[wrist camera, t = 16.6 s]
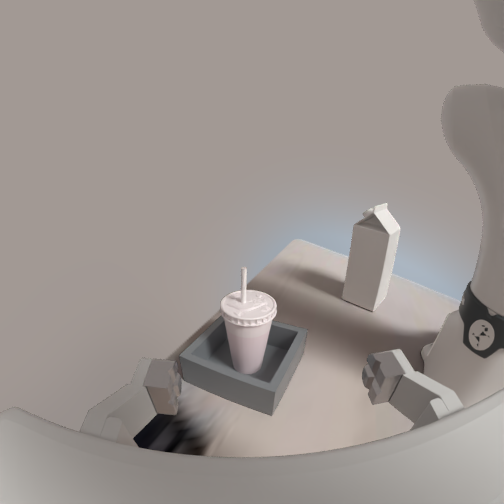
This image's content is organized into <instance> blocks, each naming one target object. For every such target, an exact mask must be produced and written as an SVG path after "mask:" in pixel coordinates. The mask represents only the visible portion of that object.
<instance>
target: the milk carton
mask: <svg viewBox="0 0 504 504" xmlns="http://www.w3.org/2000/svg"><path fill="white" fill-rule="evenodd" d="M387 204H388V203H385V204H381V205H378V206H374V210H373V208H371V209H369V210H367V211H365V212H364V213H363V215H364V217H365V218H364V219H362V220H361V221H359V222H358V223H356V224H355V225H354V227H353V234H352V241H351V248H350V254H349V260H348V267H347V272H346V278H345V284H344V289H343V294H342V299H344V300H346V301H348V302H351V303H353V304H356V305H358V306H360V307H363V308H365V309H368V310H370V311H374V310H375V309H376V308H377V307H378V306H379V305H380V304H381V302H382V301H383V300H384V299H385V298H386V294H387V290H388V286H389V282H390V278H391V274H392V269H393V264H394V260H395V256H396V250H397V246H398V240H399V235H400V229H401V228H400V226H399V225H398V223H397V222H396V221H395V219H394V218H393V216H392V215H391V214H390V212H389V211H388V210H387Z"/></svg>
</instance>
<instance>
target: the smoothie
mask: <svg viewBox="0 0 504 504" xmlns="http://www.w3.org/2000/svg"><path fill="white" fill-rule="evenodd" d="M246 279H247V268H246V267H242V268H241V290H239V291H235V292H232V293H229V294H228V295H226V296H225V297H224V298H223V299H222V300H221V303H220V313H221V315H222V317H223V318H224V321H225V326H226V331H227V337H228V342H229V347H230V352H231V357H232V362H233V366H234V369H235V370H236V371H238V372H239V373H242V374H253V373H256V372H257V371H259V370H260V368H261V365H262V361H263V357H264V353H265V349H266V345H267V340H268V336H269V332H270V328H271V323H272V320H273V318H274V317H275V316H276V313H277V309H276V307H277V304H276V301H275V299H274V298H273V297H271V296H270V295H268V294H266V293H264V292H261V291H256V290H246Z"/></svg>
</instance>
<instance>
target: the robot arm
mask: <svg viewBox="0 0 504 504" xmlns="http://www.w3.org/2000/svg"><path fill="white" fill-rule="evenodd" d="M474 2H475V5H476V8H477V11H478V14H479V18H480V21H481V25H482V28H483V30H484V31H485V33H486V35H487V37H488V38H489V39H490V40H491V42H492V43H493V44H494V45H495V46H496V47H497V48H498V49H500V50H501V51H502V52H504V0H474ZM441 122H442V129H443V133H444V137H445V140H446V142H447V144H448V146H449V148H450V150H451V152H452V153H453V155H454V156H455V157H456V159H457V160H458V161H459V162H460V163H461V164H462V165H463V167H464V168H465V169H466V171H467V172H468V174H469V175H470V177H471V179H472V181H473V183H474V185H475V187H476V190H477V192H478V196H479V199H480V203H481V208H482V216H483V230H482V239H481V245H480V251H479V256H478V260H477V264H476V268H475V272H474V275H473V278H472V281H470V282H469V283H468V285H467V288H466V290H465V291H464V294H463V296H462V301H461V304H460V306H459V310H457V311H454V312H452V313H449V314H448V315H447V317H446V319H445V321H444V323H443V325H442V327H441V329H440V331H439V333H438V335H437V337H436V339H435V341H434V342H433V343H430V344H428V345H425V346H424V347H423V349H422V351H421V355H422V358H423V360H424V364H425V365H424V374H422V373H420V372H418V371H416V372H415V371H414V369H413V368H412V366H411V365H410V363H409V361H408V360H407V358H406V357H405V355H404V354H403V352H402V351H401V350H400V349H395V350H390V351H384V352H378V353H371V354H370V355H369V356H368V358H367V362H368V364H367V365H366V366H365V367H364V369H363V372H362V380H363V384H364V386H365V387H366V388H367V389H369V392H368V396H369V398H370V400H371V403H372V405H374V404H379V403H384V402H389V403H390V404H391V405H392V406H394V407H395V408H396V409H397V410H398V411H400V412H401V413H402V414H403V415H405V416H406V417H407V418H408V419H410V420H411V421H412V422H413V423H415V424H414V425H413V427H412V428H411V429H410V431H407V432H404V433H401V434H398V435H394V436H391V437H387V438H384V439H380V440H376V441H372V442H368V443H364V444H360V445H355V446H350V447H345V448H340V449H334V450H328V451H322V452H315V453H307V454H298V455H287V456H273V457H210V456H196V455H185V454H176V453H169V452H162V451H155V450H149V449H144V448H139V447H138V446H137V444H136V443H135V441H134V440H133V438H134V437H135V436H136V435H137V434H138V433H139V432H140V431H141V430H142V429H143V428H144V427H145V426H146V425H147V424H148V423H149V422H150V421H151V420H152V419H153V418H154V417H155V416H156V415H157V413H160V414H170V415H176V413H177V408H178V404H179V403H178V399H177V397H178V396H180V394H181V384H182V383H181V376H180V374H179V373H178V372H177V371H178V364H177V361H171V360H161V359H151V358H141V359H140V361H139V364H138V366H137V369H136V371H135V374H134V376H133V379H132V381H131V384H127V385H125V386H124V387H122V388H121V389H119V390H118V391H116V392H115V393H114V394H112V395H111V396H110V397H108V398H106V399H105V400H103V401H102V402H100V403H99V404H97V405H96V406H95V407H93V408H91V409H90V410H89V411H88V413H87V415H86V418H85V420H84V422H83V425H82V427H81V430H80V432H77V431H74V430H71V429H68V428H66V427H63V426H60V425H57V424H55V423H52V422H50V421H47V420H45V419H42V418H40V417H38V416H35V415H33V414H31V413H29V412H27V411H25V410H22V409H20V408H18V407H13V408H9V409H7V410H5V411H3V412H1V413H0V504H504V88H502V87H497V86H492V85H487V84H479V85H478V84H476V85H462V86H455V87H454V88H452V89H451V90H450V92H449V93H448V95H447V96H446V98H445V101H444V103H443V107H442V114H441Z"/></svg>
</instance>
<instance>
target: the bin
mask: <svg viewBox="0 0 504 504" xmlns="http://www.w3.org/2000/svg"><path fill="white" fill-rule="evenodd" d="M307 330H308V329H304V328H300V327H296V326H292V325H288V324H284V323H280V322H277V321H273V320H272V323H271V328H270V332H269V336H268V340H267V345H266V349H265V353H264V357H263V361H262V365H261V368H260V370H259V371H257V372H256V373H253V374H242V373H239V372H238V371H236V370H235V369H234V366H233V362H232V357H231V352H230V347H229V342H228V337H227V331H226V326H225V321H224V318H223V317H222V315H221V316H220V317H219V318H218V319H217V320H216V321H215V322H214V323H213V324H212V325H211V326H210V327H209V328H208V329H206V330H205V331H204V332H203V333H202V334H201V335H200V336H199V337H198V338H197V339H196V340H195V341H194V342H193V343H192V344H191V345H190V346H189V347H188V348H187V349H186V350H184V351H183V352H182V353H181V354H180V355H179V358H180V363H181V368H182V373H183V378H184V381H186V382H188V383H191V384H193V385H195V386H197V387H199V388H202V389H204V390H206V391H208V392H211V393H213V394H215V395H218V396H220V397H223V398H225V399H227V400H230V401H233V402H235V403H238V404H240V405H243V406H246V407H248V408H251V409H254V410H257V411H260V412H262V413H265V414H268V415H271V416H272V415H273V413H274V411H275V409H276V407H277V406H278V404H279V402H280V400H281V398H282V396H283V394H284V392H285V390H286V388H287V386H288V384H289V382H290V380H291V378H292V376H293V374H294V372H295V370H296V368H297V366H298V364H299V362H300V360H301V358H302V356H303V353H304V348H305V342H306V336H307Z"/></svg>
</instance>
